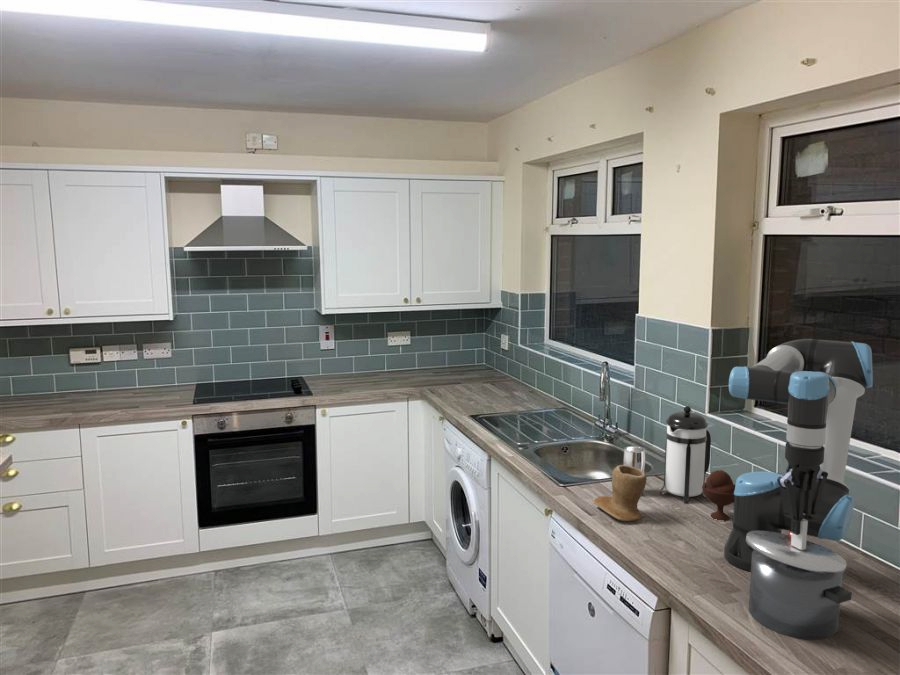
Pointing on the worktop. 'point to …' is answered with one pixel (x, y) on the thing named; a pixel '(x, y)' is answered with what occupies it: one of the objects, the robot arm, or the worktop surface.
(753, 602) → the pressure cooker pot
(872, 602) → the worktop surface
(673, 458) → the coffee press
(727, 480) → the ice cream bowl
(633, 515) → the tan flared hollow piece
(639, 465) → the silver metal cylinder
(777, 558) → the pot lid
